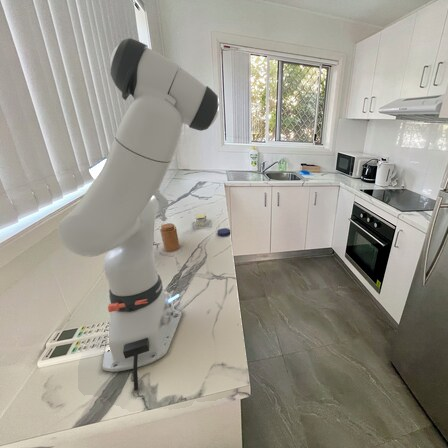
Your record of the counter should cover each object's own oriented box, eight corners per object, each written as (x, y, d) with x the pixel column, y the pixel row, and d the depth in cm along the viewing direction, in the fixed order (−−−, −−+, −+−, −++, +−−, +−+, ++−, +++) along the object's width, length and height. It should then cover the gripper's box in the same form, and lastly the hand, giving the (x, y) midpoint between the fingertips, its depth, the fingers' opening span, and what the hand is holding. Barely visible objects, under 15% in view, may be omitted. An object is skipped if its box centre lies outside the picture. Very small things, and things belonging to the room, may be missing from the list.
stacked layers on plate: (210, 227, 136) (209, 218, 134) (193, 229, 133) (192, 219, 131) (209, 220, 144) (208, 212, 142) (193, 222, 141) (192, 213, 139)
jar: (179, 250, 111) (174, 227, 107) (163, 252, 109) (158, 229, 105) (180, 244, 117) (176, 222, 112) (165, 245, 115) (160, 223, 110)
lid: (219, 231, 132) (219, 228, 131) (231, 231, 132) (231, 228, 131) (216, 236, 126) (215, 233, 125) (228, 236, 126) (228, 233, 125)
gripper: (149, 183, 96) (170, 210, 105) (102, 217, 84) (130, 244, 93) (158, 184, 93) (179, 211, 102) (111, 219, 81) (139, 247, 90)
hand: (155, 227), depth 97 cm, fingers open, 8 cm apart
